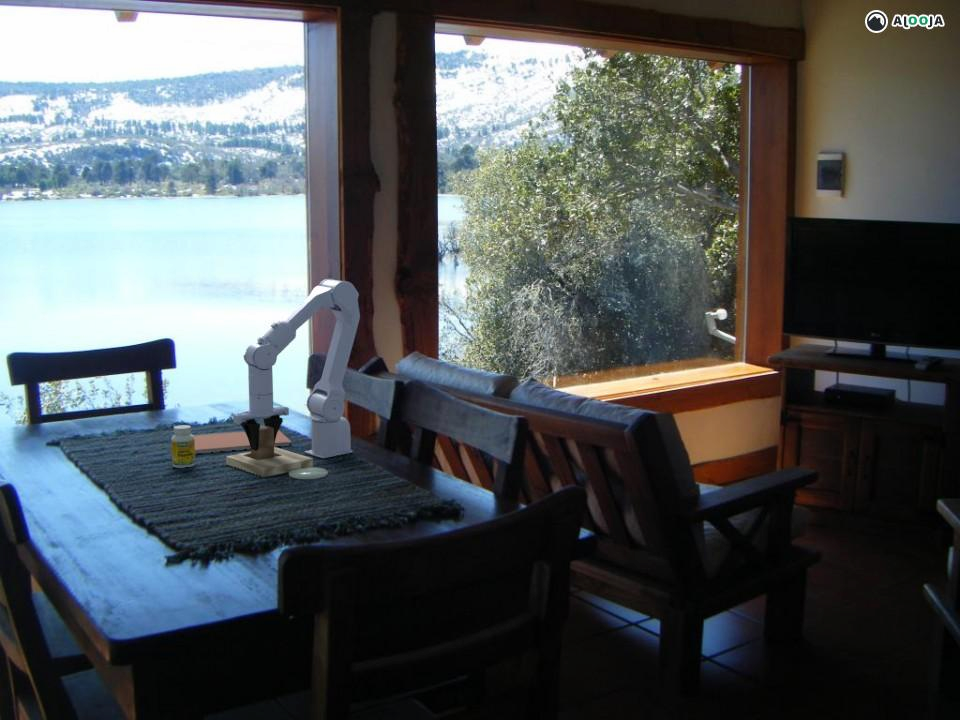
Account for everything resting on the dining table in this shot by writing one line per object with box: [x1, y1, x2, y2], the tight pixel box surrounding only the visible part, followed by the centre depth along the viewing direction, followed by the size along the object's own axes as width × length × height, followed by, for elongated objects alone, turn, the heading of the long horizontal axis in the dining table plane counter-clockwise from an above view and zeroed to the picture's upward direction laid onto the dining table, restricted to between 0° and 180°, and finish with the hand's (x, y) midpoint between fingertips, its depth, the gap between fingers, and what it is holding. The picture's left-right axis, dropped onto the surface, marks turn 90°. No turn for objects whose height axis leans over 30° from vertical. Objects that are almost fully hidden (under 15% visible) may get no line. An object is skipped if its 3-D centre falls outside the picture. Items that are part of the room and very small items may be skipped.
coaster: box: [288, 466, 329, 481], centre depth 246 cm, size 9×9×1 cm
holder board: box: [225, 447, 314, 478], centre depth 253 cm, size 14×16×2 cm
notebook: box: [192, 429, 292, 455], centre depth 275 cm, size 27×17×2 cm, turn 114°
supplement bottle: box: [171, 424, 196, 469], centre depth 252 cm, size 5×5×10 cm
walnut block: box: [250, 424, 274, 460], centre depth 255 cm, size 4×4×8 cm
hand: (262, 448), depth 255 cm, fingers closed on walnut block, 4 cm apart
